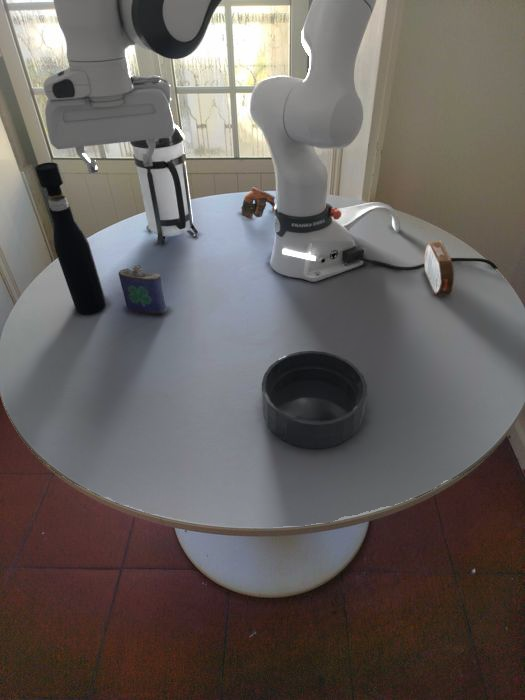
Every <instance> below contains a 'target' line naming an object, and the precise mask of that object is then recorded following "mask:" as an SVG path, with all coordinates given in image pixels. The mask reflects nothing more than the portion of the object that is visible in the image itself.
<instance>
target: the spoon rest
mask: <svg viewBox="0 0 525 700" xmlns="http://www.w3.org/2000/svg"><path fill="white" fill-rule="evenodd" d="M337 209H338V210H339V211H340V212H341V214H342V215H341V217H340V218H339V219H337V220H336V219H334V218H333V217H332V219H333V220H335V221H336V222H338V223H339V224H341V225H342V226H343V227H345V228H346V229H347V230H348V231H350V230H351V229H352V228H353V227H354V226H355V225H356V224H357V223H359V221H361V220H362V219H363V218H364V217H365V216H367V215H368V214H371V213H373V212H375V211H383V212H386V213H388V214H389V215H390V216H391V218H392V219H391V226H392V228H393V229H394V231H395V232H400V231H401V222H400V217H399V215H397V213H396V211H395V209H394V208H393V207H392V206H391V205H389V204H387V203H384V202H380V201H372V202H371V201H370V202H365V203H360V204H356V205H353V206H352V205H351V206H346V207H339V208H337Z"/></svg>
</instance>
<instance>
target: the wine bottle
mask: <svg viewBox="0 0 525 700" xmlns="http://www.w3.org/2000/svg"><path fill="white" fill-rule="evenodd" d="M34 170H35V172H36V176H37V179H38V181H39V185H40V187H41V188H43V189H45V190H46V193H47V197H48V198H47V199H48V202H47V203H48V206H49V214H50V216H51V219H52V222H53V245H54V251H55V254H56V256H57V259H58V262H59V265H60V268H61V271H62V274H63V276H64V280H65V282H66V285H67V288H68V290H69V294H70V297H71V300H72V302H73V305H74V308H75V311H76V312H77V313H78V314H80V315H84V316H90V315H95V314H98V313H100V312H102V311H103V310H104V309H105V308H106V306H107V300H106V297H105V293H104V289H103V286H102V283H101V280H100V277H99V273H98V270H97V265H96V263H95V259H94V256H93V253H92V249H91V246H90V242H89V241H88V239H87V236H86V235H85V233H84V230H83V229H82V228H81V227H80V225H79V224H78V222H77V221H76V219H75V217H74V213H73V211H72V207H71V206H70V205H69V202H68V199H67V198H66V196H65V195H64V192H63V190H62V185H63V184H64V179H63V176H62V173H61V169H60V166H59V164H58V163H57V162H52V161H51V162H43V163H39V164H37V165H35V168H34Z"/></svg>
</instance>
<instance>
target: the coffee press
mask: <svg viewBox="0 0 525 700" xmlns="http://www.w3.org/2000/svg"><path fill="white" fill-rule="evenodd" d="M174 128H175V131H174V133H173V135H172V136H171V137H168V138H158V139H155V142H156V147H155V149H154V152H153V155H152V156H151V158H152V164H153V166H147V167H144V163H143V158H142V154H146V153H147V150H148V147H149V146H148V145H147V142H146V140H140V141H131V142H129V144H130V145H131V146H132V151H133V160H134V165H136V171H137V175H138V180H139V186H140V187H139V188H140V191H141V197H142V201H143V207H144V212H145V216H146V222H147V226H146V230H147V231H148V232H151V233H153V234H154V235H156V236H157V238H156V243H157V245H165V241H166V239H167V237H176V236H180V235H183V234H185V233H188V234H189V235H190V236H191V237H193V238H195V237H196V236H198V234H199V231H198V229H197V228H196V227H195V225H194V217H193V210H192V209H193V208H192V200H191V194H190V186H189V178H188V171H187V162H186V161H187V160H186V159H187V155H186V150H185V149H184V148H185V147H184V140H185V135H184V133H183V132H182V130H181V129H180V127H179V126H178V125H176V124H174Z"/></svg>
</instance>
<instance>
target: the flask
mask: <svg viewBox="0 0 525 700" xmlns="http://www.w3.org/2000/svg"><path fill="white" fill-rule="evenodd" d="M142 268H143V267H142V265H140V264H137V266H133V267H132V268H131V269H130V268H128V267H127V268H124V269H120V270H119V271H118V278H119V281H120V285H121V289H122V293H123V299H124V303H125V306H126V310H127V311H129V312H132V313H134V314H138V315H139V314H140V315H150V316H163V315H166V313H167V312H168V307H167V304H166V300H165V299H166V298H165V294H164V289H163V283H162V277H161V275H160V273H158V272H144V271H142Z"/></svg>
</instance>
